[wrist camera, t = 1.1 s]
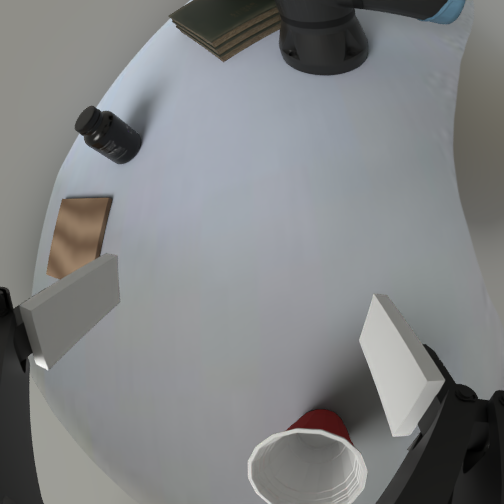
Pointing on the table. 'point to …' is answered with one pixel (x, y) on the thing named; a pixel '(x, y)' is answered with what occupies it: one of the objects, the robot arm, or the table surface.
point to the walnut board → (77, 234)
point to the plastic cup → (308, 463)
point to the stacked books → (227, 23)
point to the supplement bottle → (108, 135)
